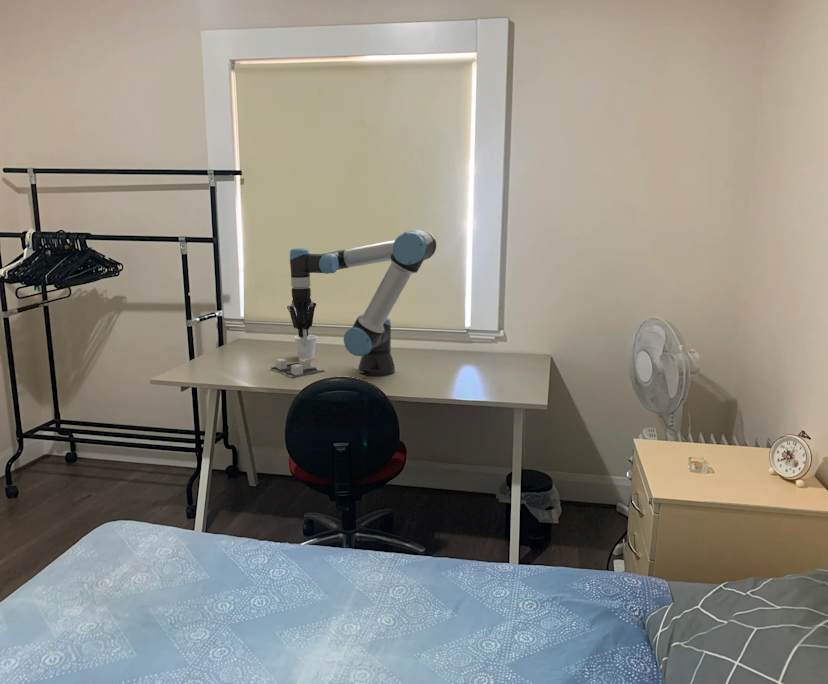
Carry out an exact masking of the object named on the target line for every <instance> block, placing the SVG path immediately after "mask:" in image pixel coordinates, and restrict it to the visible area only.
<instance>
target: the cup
mask: <svg viewBox="0 0 828 684" xmlns="http://www.w3.org/2000/svg"><path fill="white" fill-rule="evenodd" d="M293 338H294V341H295V347H296V351H297V356H298V357H297V358H298V360H299V359H301V358H305V359H308V360H310V361H311V360H314V358H315V351H316V345H317V339H318V336H317V335H316V334H315V335H314V334H308V336H307V345H305V346H304V345H300V337H299V334H298V335H295V336H294V337H293Z"/></svg>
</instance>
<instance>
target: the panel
mask: <svg viewBox="0 0 828 684" xmlns="http://www.w3.org/2000/svg"><path fill="white" fill-rule="evenodd" d="M295 364H299V361H298V362H292V363H287V368H286V369H277V368H276V365H275V366H271V368H269V370H270V371H273V372H275V373H278V374H280V375H283V376H286V377H288V378H290V379H296V378H300V377H306V376H310V375H315V374H320V373H321V374H322V373H325V372H327V370H324V369H321V368H318V367H316V366H313V365H310V367H311V368H309V369H303V374H300V375H293V374H291V365H295Z"/></svg>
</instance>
